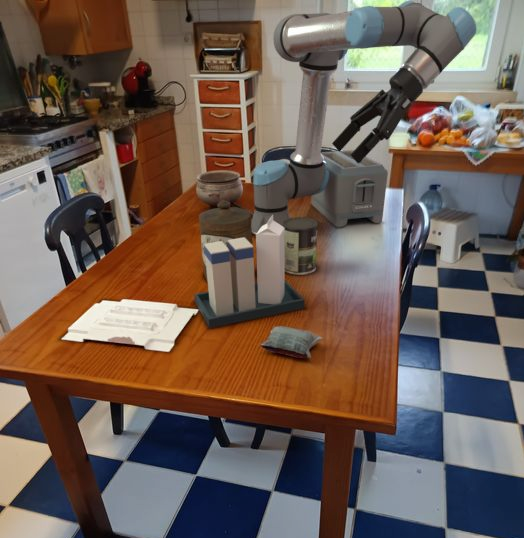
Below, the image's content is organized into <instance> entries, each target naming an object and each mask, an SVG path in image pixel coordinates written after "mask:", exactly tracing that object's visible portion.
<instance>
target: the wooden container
mask: <svg viewBox="0 0 524 538" xmlns="http://www.w3.org/2000/svg"><path fill="white" fill-rule="evenodd" d="M218 207H219V208H211V209H207V210H205V211H203V212H201V213H200V214H199V215H198V225H199V230H200V231H199V232H200V243H201V256H202V264H203V274H204V279H205V280H206V281H208V280H207V270H206V260H205V251H204V244H206V243H212V242H218V241H222V242H223V243H224V244H225V246H226V247H227V248H228V243H227V240H231V239H237V238H243V237H245V238H246V239H247V240H248V241H249V242H250V243H251V244H252V245H253V246H254V242H253V235H252V228H251V222H252V216H251V214H250V212H249V211H250V210H249V211H247V210H248V209H247V210H245V209H246V208H245V209H242V208H238V207H236V206H231V205H230V203H229V202H228V201H226V200H222V201H221V202H219V203H218Z"/></svg>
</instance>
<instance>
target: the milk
mask: <svg viewBox="0 0 524 538" xmlns="http://www.w3.org/2000/svg"><path fill="white" fill-rule="evenodd" d="M255 247H256V248H255V250H256V276H257V277H256V280H257V281H256V283H258V303H264V304H279V303H281V302H282V299H283V297H284V294H285V280H286V279H285V273H286V272H285V228H284V227H283V226H281V225H280V224H278V223H277V222H275V221H273V215H272V216H271V218H270V219H269V220H268V222H267V224H265V225H263V226H262V227H261V228H260V229H259V231H258V232H257V234H256V236H255Z"/></svg>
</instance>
